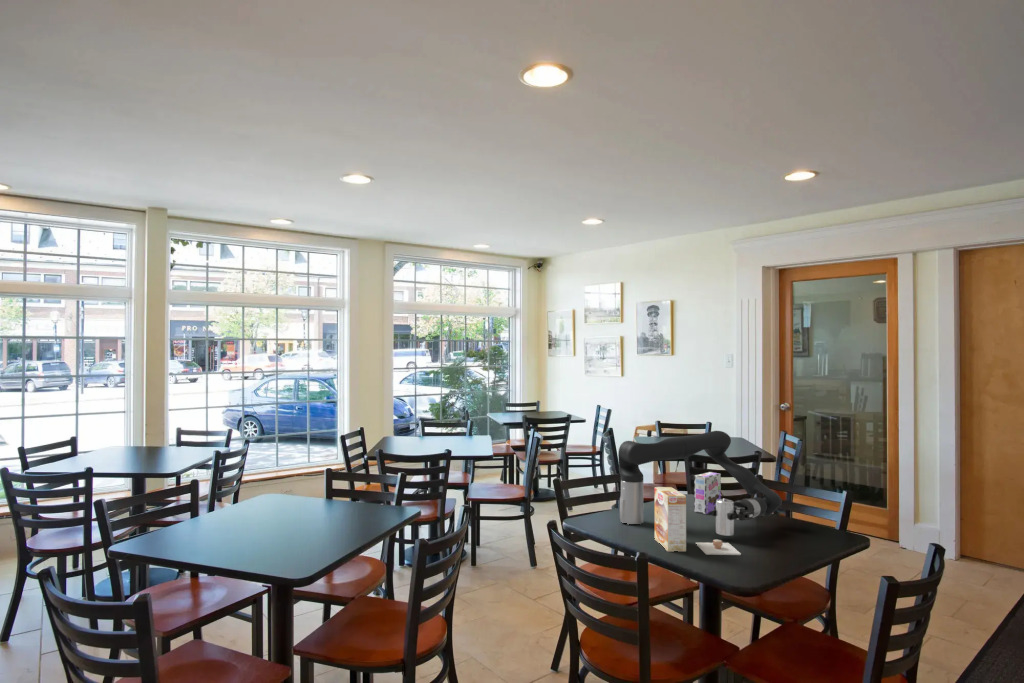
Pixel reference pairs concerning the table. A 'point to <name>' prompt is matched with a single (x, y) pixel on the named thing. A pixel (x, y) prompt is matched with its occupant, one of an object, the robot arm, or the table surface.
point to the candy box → (706, 492)
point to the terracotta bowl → (717, 543)
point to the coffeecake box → (670, 519)
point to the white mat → (725, 549)
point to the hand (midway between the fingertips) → (721, 515)
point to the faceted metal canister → (724, 517)
